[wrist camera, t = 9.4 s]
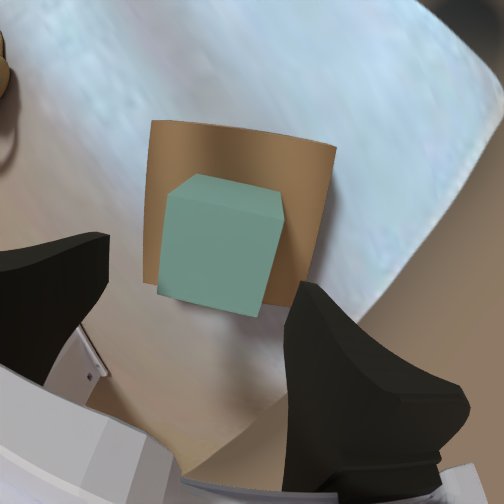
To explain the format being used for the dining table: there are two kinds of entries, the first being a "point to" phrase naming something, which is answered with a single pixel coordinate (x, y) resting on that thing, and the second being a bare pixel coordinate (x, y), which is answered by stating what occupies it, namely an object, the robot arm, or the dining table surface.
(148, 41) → the dining table surface
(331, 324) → the robot arm
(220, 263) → the teal block
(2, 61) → the alarm clock
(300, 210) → the walnut box
